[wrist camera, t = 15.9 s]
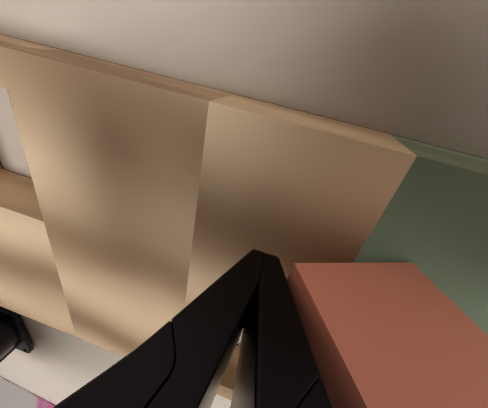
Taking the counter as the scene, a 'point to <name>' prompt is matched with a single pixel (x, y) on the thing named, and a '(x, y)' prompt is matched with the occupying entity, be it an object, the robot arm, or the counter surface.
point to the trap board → (208, 198)
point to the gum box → (19, 397)
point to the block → (389, 337)
